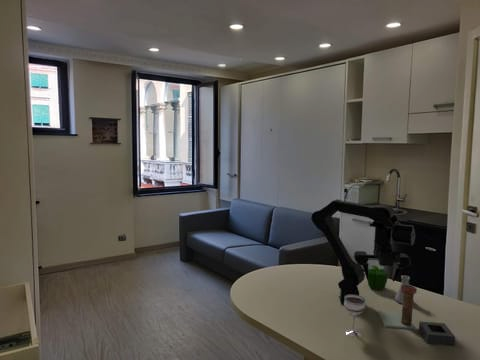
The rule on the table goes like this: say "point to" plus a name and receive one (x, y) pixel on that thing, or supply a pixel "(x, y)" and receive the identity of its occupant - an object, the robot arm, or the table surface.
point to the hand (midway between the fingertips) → (380, 280)
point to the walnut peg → (407, 304)
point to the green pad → (393, 320)
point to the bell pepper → (377, 278)
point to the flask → (400, 293)
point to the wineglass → (354, 310)
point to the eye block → (436, 333)
